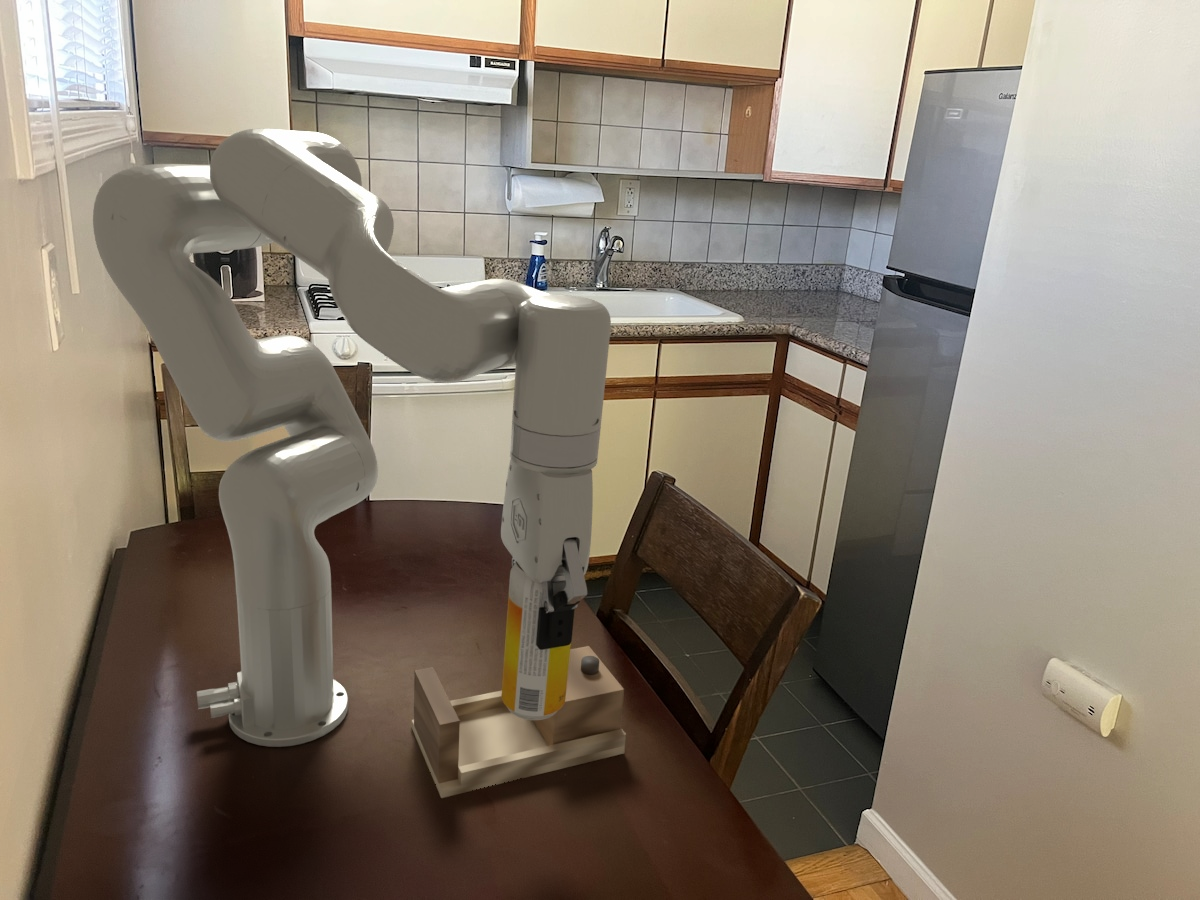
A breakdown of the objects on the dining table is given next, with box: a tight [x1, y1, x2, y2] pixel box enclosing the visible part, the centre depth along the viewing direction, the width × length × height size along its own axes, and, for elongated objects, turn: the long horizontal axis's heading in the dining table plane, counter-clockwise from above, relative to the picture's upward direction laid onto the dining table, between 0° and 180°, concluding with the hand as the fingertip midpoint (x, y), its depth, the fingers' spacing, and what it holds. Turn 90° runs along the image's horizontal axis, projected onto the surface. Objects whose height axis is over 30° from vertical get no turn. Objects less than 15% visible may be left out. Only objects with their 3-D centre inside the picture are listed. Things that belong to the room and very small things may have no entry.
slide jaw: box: [533, 645, 625, 746], centre depth 100 cm, size 8×9×7 cm
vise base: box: [411, 666, 627, 799], centre depth 97 cm, size 20×12×8 cm, turn 115°
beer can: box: [501, 562, 572, 720], centre depth 83 cm, size 6×6×15 cm
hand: (539, 625), depth 82 cm, fingers closed on beer can, 6 cm apart
